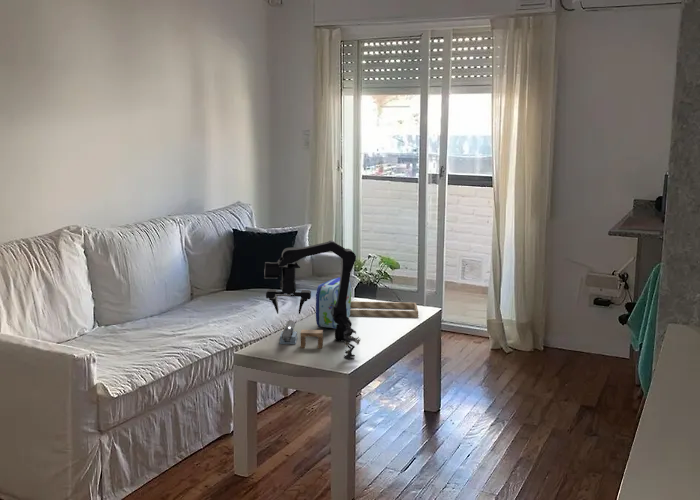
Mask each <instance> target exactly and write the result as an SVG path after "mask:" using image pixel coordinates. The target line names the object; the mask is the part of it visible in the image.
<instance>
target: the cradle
mask: <svg viewBox="0 0 700 500" xmlns="http://www.w3.org/2000/svg"><path fill="white" fill-rule="evenodd" d="M283 331H284V330H282V331H281V332H280V335H279V345H296V344H297V340H298V331H296V330H295V331H294V330H293V333H292V336H291V339H290V340H289V341H284V340H283V339H282V333H283Z"/></svg>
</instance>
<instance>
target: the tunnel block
mask: <svg viewBox="0 0 700 500" xmlns="http://www.w3.org/2000/svg"><path fill="white" fill-rule="evenodd" d="M307 337H310V338H317V349H323V347H324V346H323V345H324V329H301V331H300V349H306V345H307V343H306V342H307V339H306V338H307Z"/></svg>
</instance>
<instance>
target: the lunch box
mask: <svg viewBox="0 0 700 500" xmlns="http://www.w3.org/2000/svg"><path fill="white" fill-rule="evenodd" d="M350 280H351V279H350ZM350 280H349V286H348V293H347V300H346V309H347V317H348V318H349V319H350V317H351V316H350V309H352V308H351V301H352V283H351V281H350ZM339 283H340V276H339V277H337V278H335V277H334V278H332V279H330V280H327V281H325V282H323V283H320V284H318V286H317V288H316V293H315V322H316V326H317V327H319V328H320V327H321V328H329V329H335V328H336V326H337V323H336V322H335V321H334V319H333V317H332V315H331V310H332V304H334V305H335V304H336V301H337V296H338V290H339Z"/></svg>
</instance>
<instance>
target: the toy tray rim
mask: <svg viewBox="0 0 700 500" xmlns="http://www.w3.org/2000/svg"><path fill="white" fill-rule="evenodd" d="M369 307H370V308H369ZM352 308H353V309H352ZM354 308H355V309H354ZM356 308H358V309H356ZM362 308H363V309H362ZM394 309H395V310H394ZM398 309H399V310H398ZM401 309H403V310H401ZM351 316H352V317H382V318H383V317H386V318H387V317H388V318H391V317H392V318H393V317H394V318H395V317H396V318H419V309H418V306H417V302H394V301H360V300H359V301H358V300H356V301H354V300H353V301H352V300H351V308H350V316H349V317H351Z"/></svg>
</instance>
